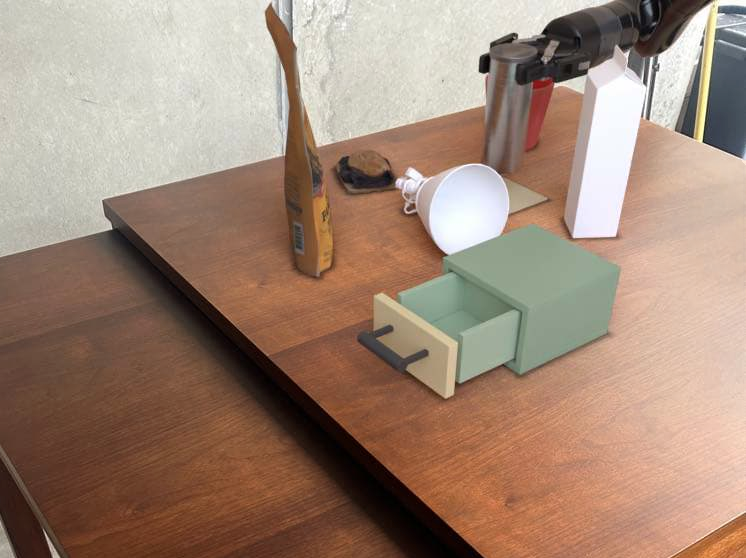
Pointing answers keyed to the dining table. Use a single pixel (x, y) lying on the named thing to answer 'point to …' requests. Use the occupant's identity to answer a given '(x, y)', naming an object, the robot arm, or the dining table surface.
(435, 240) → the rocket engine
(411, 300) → the drawer
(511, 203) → the mat
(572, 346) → the cabinet
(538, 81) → the flower pot
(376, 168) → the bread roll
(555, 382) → the dining table surface
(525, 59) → the silver tall cylinder
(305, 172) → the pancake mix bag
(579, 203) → the milk
